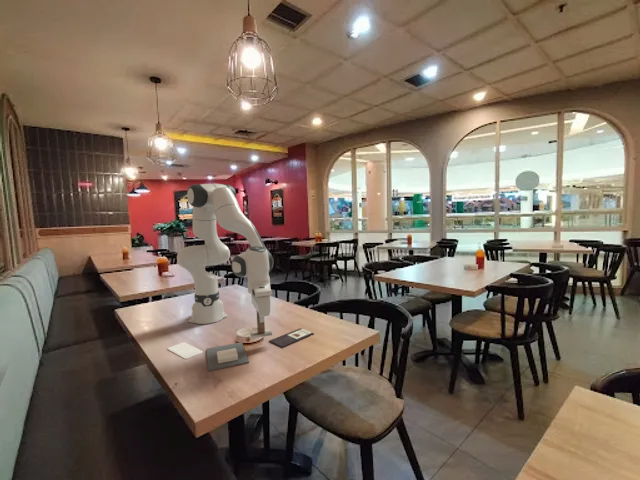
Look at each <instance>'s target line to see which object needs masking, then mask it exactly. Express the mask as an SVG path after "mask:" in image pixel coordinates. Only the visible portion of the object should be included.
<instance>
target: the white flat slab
mask: <svg viewBox="0 0 640 480" xmlns="http://www.w3.org/2000/svg"><path fill="white" fill-rule="evenodd" d="M167 350H168V351H169V352H171V353H173V354H175V355H177V356H178V357H180V358H182V359H183V360H189V359H191V358H194V357H195V356H198V355H202V353H203V350H201V349H199V348H197V347H195V346H193V345H192V344H189V343H187V342H185V341H183V342H180V343H178V344H174V345H173V346H169V347H168V348H167Z"/></svg>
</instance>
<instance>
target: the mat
mask: <svg viewBox="0 0 640 480" xmlns="http://www.w3.org/2000/svg"><path fill="white" fill-rule="evenodd" d="M233 348H236V351H237V354H238V360H235V361H230V362H225V363H220V364H218V359H217V351H222V350H228V349H233ZM206 359H207V360H206V361H207V372H213V371H218V370H222V369H227V368H230V367H237V366H240V365H246V364H249V363H250V361H249V358H248V355H247V351H246V350H245V347H244V345H243V342H242V341H240V342H236V343H230V344H224V345H219V346H213V347H208V348H206Z"/></svg>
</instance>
